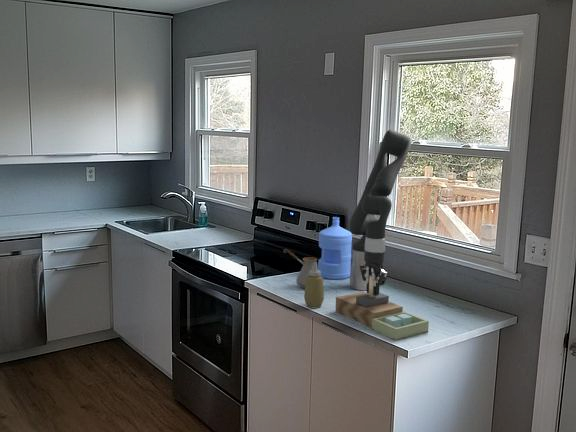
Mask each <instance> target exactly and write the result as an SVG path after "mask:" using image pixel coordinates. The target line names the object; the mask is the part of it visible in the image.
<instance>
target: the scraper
mask: <svg viewBox="0 0 576 432" xmlns="http://www.w3.org/2000/svg"><path fill="white" fill-rule="evenodd" d="M377 277H378V276H377ZM377 277H376V278H377ZM373 286H374V281H373V280H372V276H369V293H368V294H366V295H361V296H356V303H357V304H360V305H363V306H365V307H370V306H375V305H379V304H383V303H388V301H389V298H390V297H389V296H390V295H387V294H384V293H381V292H379V295H377V296H374V295H373ZM389 302H390V301H389Z"/></svg>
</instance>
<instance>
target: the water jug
mask: <svg viewBox="0 0 576 432" xmlns="http://www.w3.org/2000/svg"><path fill="white" fill-rule="evenodd" d="M352 241H353V234H352V233H351V231H349V230H347V229H345V228H343V227H341V226H340V217H338V216H333V217H332V225H331V226H330V227H329V226H328V227H327V228H324V229H322V230H320V231H319V234H318V247H319V248H320V249H321V257H320V258H319V259H317V261H318V262H317V267H318V270H319V271H321V275H320V276H321V277H323V279H327V280H344V279H345V280H346V279H348V278H350V267H351V265H352Z"/></svg>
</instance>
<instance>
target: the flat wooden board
mask: <svg viewBox="0 0 576 432" xmlns="http://www.w3.org/2000/svg"><path fill="white" fill-rule="evenodd" d="M366 294H369V293H367V291H360V292H359V291H358V292H354V293H350V294H344V295H339V296H336V297H335V309H334V310H335V313H337V314H339V315H342V316H343V317H346V318H349V319H350V320H352V319H353V321H355V322H357V323H359V324H362V325H364V326H366V327H368V328H370V329H372V319H374V318H379V317H383V316H387V315H391V314H396V313H400V312H404V311H403V309H404V306H403V305H400V304H397V303H394V302H391V301H388V303H383V304H379V305H375V306H370V307H365V306H363V305H360V304H357V303H356V296H361V295H366Z"/></svg>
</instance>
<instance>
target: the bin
mask: <svg viewBox="0 0 576 432" xmlns="http://www.w3.org/2000/svg"><path fill="white" fill-rule="evenodd" d="M400 314H407V315H409V316H412V324H409V325H405V326H402V327H398V328H396V327H393V326H391V325H389V324H386V323H385V318H386V317H391V316H395V317H396V315H400ZM429 323H430V321H429V320H428V319H425V318H422V317H420V316H417V315H414V314H412V313H410V312H407V311H403V312H400V313H396V314H391V315H387V316H383V317H379V318H374V319H372V328H371V331H374V332H376V333H378V334H381V335H383V336H385V337H387V338H390V339H391V338H392V340H394V341H398V340H402V339H405V338H410V337H413V336H418V335H420V334H425V333H428V332H429V327H430V326H429Z"/></svg>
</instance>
